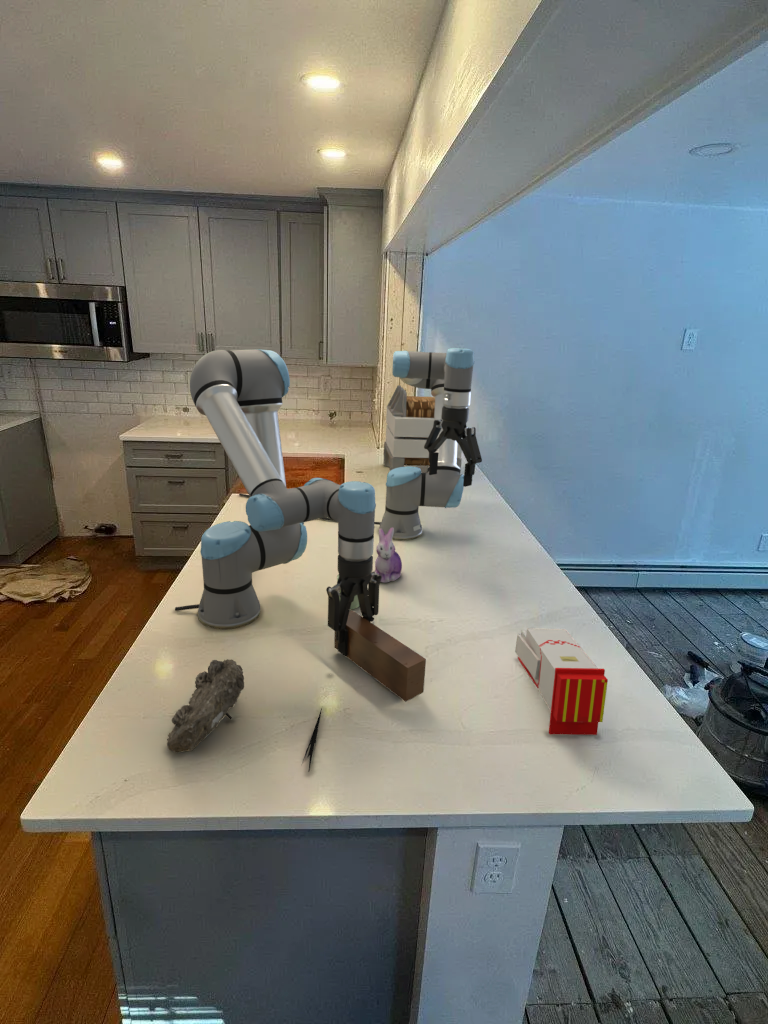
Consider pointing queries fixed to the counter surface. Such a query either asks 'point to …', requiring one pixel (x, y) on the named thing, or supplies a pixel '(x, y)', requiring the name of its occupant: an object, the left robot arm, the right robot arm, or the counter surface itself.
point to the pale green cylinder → (355, 603)
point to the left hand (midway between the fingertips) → (352, 648)
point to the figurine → (387, 558)
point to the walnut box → (384, 657)
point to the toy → (564, 680)
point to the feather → (313, 740)
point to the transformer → (409, 430)
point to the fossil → (206, 705)
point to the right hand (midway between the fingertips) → (449, 479)
